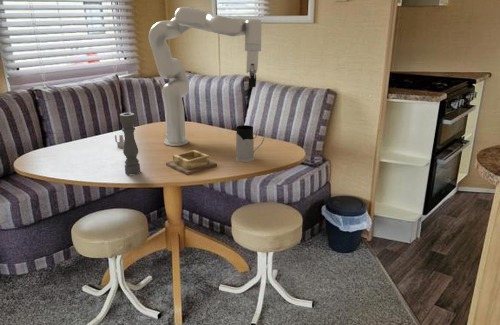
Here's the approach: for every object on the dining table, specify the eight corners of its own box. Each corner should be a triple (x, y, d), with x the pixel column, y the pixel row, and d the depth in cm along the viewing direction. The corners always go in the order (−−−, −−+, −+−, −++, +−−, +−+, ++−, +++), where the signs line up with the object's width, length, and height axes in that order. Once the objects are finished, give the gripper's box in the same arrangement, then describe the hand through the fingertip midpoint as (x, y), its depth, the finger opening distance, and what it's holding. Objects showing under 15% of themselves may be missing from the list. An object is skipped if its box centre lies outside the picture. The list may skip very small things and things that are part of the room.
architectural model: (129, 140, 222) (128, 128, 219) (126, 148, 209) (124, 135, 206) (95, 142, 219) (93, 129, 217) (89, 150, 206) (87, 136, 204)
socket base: (166, 165, 184) (165, 155, 182) (196, 157, 194) (195, 147, 192) (186, 174, 173) (186, 164, 171) (217, 166, 183) (216, 155, 181)
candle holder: (126, 169, 178) (120, 112, 170) (141, 169, 179) (136, 112, 170) (124, 175, 173) (117, 116, 164) (139, 174, 173) (133, 115, 165)
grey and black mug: (233, 157, 194) (232, 125, 189) (261, 153, 199) (261, 123, 194) (239, 163, 186) (238, 130, 181) (268, 159, 191) (268, 127, 186)
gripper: (245, 46, 199) (245, 82, 205) (243, 49, 183) (243, 88, 188) (261, 46, 199) (260, 82, 205) (260, 49, 182) (260, 88, 188)
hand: (252, 85), depth 197 cm, fingers open, 9 cm apart
